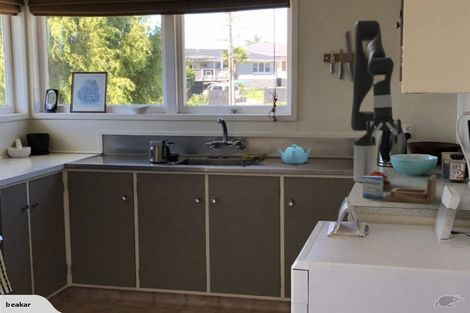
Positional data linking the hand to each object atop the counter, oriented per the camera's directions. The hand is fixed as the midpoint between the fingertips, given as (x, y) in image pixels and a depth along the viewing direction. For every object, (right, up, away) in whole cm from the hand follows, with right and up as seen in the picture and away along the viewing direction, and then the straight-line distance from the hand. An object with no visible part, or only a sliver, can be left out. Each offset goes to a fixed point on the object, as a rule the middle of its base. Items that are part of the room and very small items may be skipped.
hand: (384, 144), depth 255 cm
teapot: (-28, -9, +104) cm, 108 cm away
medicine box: (-6, -22, -3) cm, 23 cm away
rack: (+8, -22, -9) cm, 25 cm away
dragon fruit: (+1, -19, +16) cm, 25 cm away
